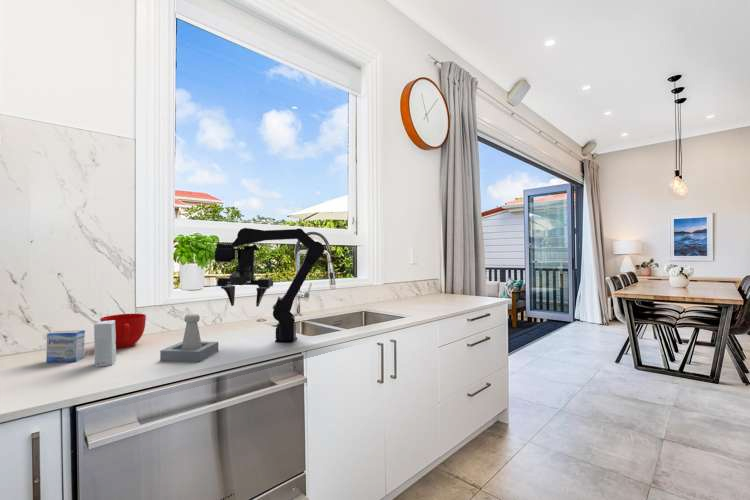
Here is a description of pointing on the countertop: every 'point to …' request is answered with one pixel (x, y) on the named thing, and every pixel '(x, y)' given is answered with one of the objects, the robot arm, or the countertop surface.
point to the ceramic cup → (127, 328)
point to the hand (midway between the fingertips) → (244, 306)
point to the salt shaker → (191, 333)
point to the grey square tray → (188, 352)
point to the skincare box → (105, 343)
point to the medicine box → (65, 346)
